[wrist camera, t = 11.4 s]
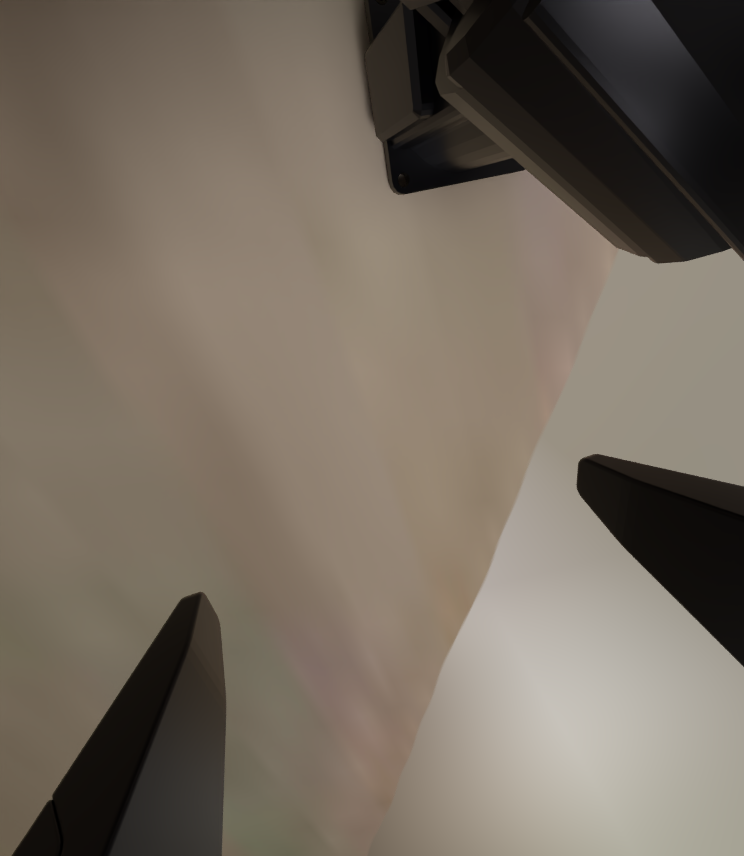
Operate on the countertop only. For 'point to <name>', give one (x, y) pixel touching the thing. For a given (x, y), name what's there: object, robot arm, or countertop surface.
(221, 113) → the countertop surface
